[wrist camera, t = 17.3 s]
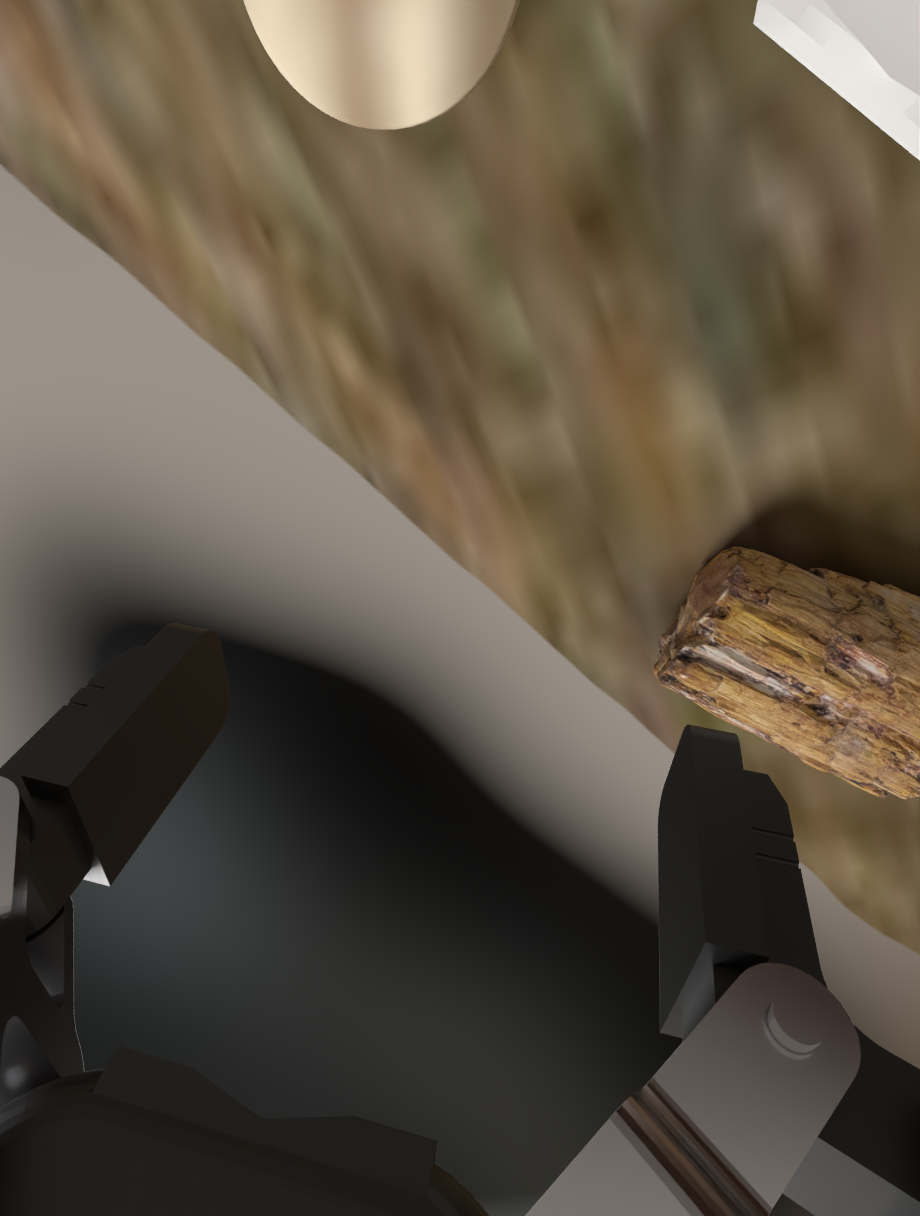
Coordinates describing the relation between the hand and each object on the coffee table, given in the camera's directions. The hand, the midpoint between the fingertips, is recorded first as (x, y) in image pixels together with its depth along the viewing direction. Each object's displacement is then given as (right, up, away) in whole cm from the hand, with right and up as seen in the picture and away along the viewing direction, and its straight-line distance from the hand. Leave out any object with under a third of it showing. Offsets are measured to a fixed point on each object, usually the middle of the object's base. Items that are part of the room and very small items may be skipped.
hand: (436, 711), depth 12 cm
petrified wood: (+25, +1, +38) cm, 46 cm away
